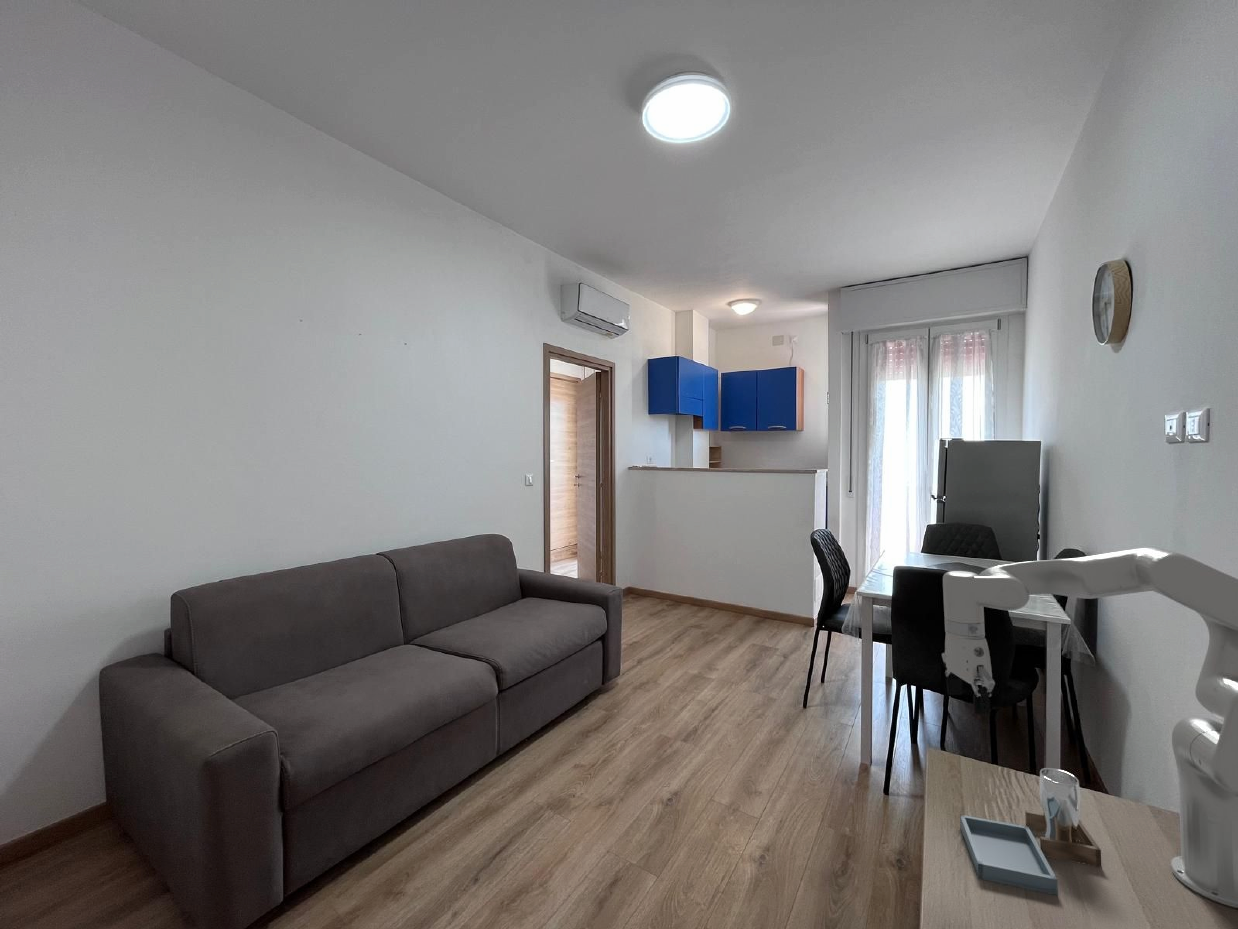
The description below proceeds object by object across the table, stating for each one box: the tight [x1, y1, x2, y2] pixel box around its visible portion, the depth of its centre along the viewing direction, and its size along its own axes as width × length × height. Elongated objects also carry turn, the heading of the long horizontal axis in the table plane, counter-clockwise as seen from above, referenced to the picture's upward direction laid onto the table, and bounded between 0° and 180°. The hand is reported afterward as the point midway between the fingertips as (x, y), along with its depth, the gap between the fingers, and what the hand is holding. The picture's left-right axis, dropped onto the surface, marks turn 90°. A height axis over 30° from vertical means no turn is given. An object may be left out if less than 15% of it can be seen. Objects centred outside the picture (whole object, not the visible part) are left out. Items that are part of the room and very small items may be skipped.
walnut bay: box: [1024, 810, 1102, 867], centre depth 116 cm, size 10×10×4 cm
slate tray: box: [959, 814, 1059, 896], centre depth 113 cm, size 13×16×3 cm
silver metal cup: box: [1038, 767, 1082, 844], centre depth 116 cm, size 7×7×15 cm
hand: (968, 703), depth 120 cm, fingers open, 9 cm apart
